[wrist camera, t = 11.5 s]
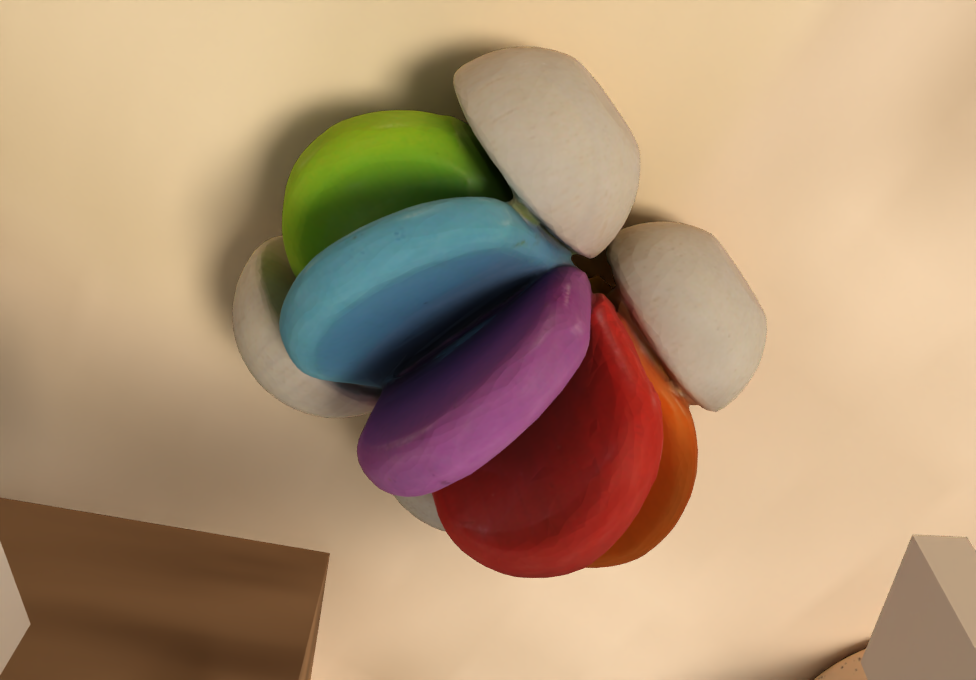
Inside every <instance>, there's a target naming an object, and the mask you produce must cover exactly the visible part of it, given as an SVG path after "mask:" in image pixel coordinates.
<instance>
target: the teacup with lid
mask: <svg viewBox="0 0 976 680" xmlns="http://www.w3.org/2000/svg"><path fill="white" fill-rule="evenodd" d="M865 650H866V649H864V650H861V651H859V652H857V653H855V654H853V655H851V656H849V657H847V658H845V659H843V660H841V661H840V662H838V663H836V664H835V665H833V666H831V667H830V668H828V669H827V670H826V671H824V672H823V673H821V674H820V675H819V676H818V677H817V678H815V679H814V680H868V679H867V677H866V674H865V672H864V669H863V667H862V664H861V660H862V657H863V655H864V652H865Z"/></svg>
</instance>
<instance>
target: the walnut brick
mask: <svg viewBox="0 0 976 680" xmlns="http://www.w3.org/2000/svg"><path fill="white" fill-rule="evenodd" d="M0 542H1V544H2V547H3V550H4V553H5V555H6V558H7V561H8V564H9V566H10V569H11V572H12V575H13V577H14V580H15V583H16V586H17V588H18V591H19V594H20V596H21V599H22V602H23V605H24V607H25V610H26V613H27V616H28V618H29V621H30V626H29V628H28V629H27V631H26V633H25V634H24V636H23V638H22V639H21V641H20V643H19V644H18V646H17V648H16V649H15V651H14V653H13V655H12V656H11V658H10V660H9V661H8V663H7V665H6V666H5V668H4V670H3V671H2V673H1V675H0V680H310V679H311V672H312V666H313V659H314V653H315V646H316V640H317V633H318V627H319V620H320V614H321V607H322V601H323V594H324V588H325V581H326V575H327V568H328V562H329V555H330V553H325V552H319V551H313V550H307V549H301V548H295V547H289V546H284V545H278V544H272V543H266V542H260V541H254V540H248V539H242V538H236V537H230V536H224V535H218V534H212V533H206V532H201V531H195V530H189V529H183V528H177V527H171V526H165V525H159V524H153V523H147V522H141V521H135V520H129V519H123V518H118V517H112V516H106V515H100V514H94V513H88V512H82V511H76V510H70V509H64V508H58V507H52V506H46V505H40V504H35V503H29V502H23V501H17V500H11V499H5V498H0Z"/></svg>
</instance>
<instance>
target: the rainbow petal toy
mask: <svg viewBox="0 0 976 680" xmlns="http://www.w3.org/2000/svg"><path fill="white" fill-rule="evenodd" d="M453 84H454V88H455V92H456V95H457V98H458V101H459V104H460V106H461V109H462V111H463V113H464V115H465V118H466V120H467V122H468V124H469V125H470V126H469V125H468V124H466V123H465V122H463V121H461V120H459V119H457V118H455V117H453V116H447V115H438V114H433V113H428V112H422V111H415V110H390V111H378V112H372V113H366V114H363V115H359V116H355V117H352V118H349V119H346V120H343V121H341V122H339V123H337V124H335V125H333V126H331V127H330V128H329V129H328V130H326V131H325V132H324V133H322V134H321V135H320V136H318V137H317V138H316V139H315V140H314V141H313V142H312V143H311V144H310V145H309V146H308V147H307V148H306V149H305V150H304V151H303V153H302V154H301V155H300V157H299V158H298V160H297V161H296V163H295V164H294V166H293V169H292V171H291V173H290V176H289V179H288V181H287V185H286V189H285V196H284V203H283V211H282V235H283V236H277V237H274V238H271V239H269V240H267V241H265V242H264V243H263V244H261V245H260V246H259V247H258V248H257V249H256V250H255V251H254V252H253V254H252V255H251V257H250V259H249V260H248V262H247V263H246V265H245V266H244V269H243V271H242V273H241V275H240V277H239V280H238V283H237V286H236V290H235V295H234V300H233V312H232V315H233V330H234V334H235V339H236V343H237V346H238V349H239V352H240V354H241V356H242V359H243V361H244V362H245V364H246V366H247V367H248V369H249V371H250V372H251V374H252V375H253V376H254V378H255V379H256V380H257V381H258V383H259V384H260V385H261V386H262V387H263V388H264V389H265V390H266V391H267V392H269V393H270V394H271V395H272V396H274V397H275V398H276V399H278V400H279V401H281V402H283V403H284V404H286V405H288V406H290V407H292V408H294V409H296V410H299V411H301V412H304V413H307V414H311V415H315V416H320V417H326V418H347V417H354V416H360V415H364V414H367V413H371V414H370V416H369V418H368V420H367V423H366V425H365V427H364V429H363V431H362V433H361V435H360V438H359V441H358V446H357V455H358V461H359V464H360V466H361V468H362V470H363V472H364V473H365V474H366V476H367V477H368V478H369V479H370V480H371V481H372V482H373V483H374V484H375V485H376V486H377V487H378V488H380V489H381V490H383V491H385V492H387V493H390V494H393V495H394V496H395V497H396V499H397V500H398V501H399V503H400V504H401V505H402V506H403V507H404V508H405V509H407V510H408V511H409V512H410V513H411V514H412V515H414V516H415V517H416V518H418V519H419V520H421V521H423V522H424V523H426V524H428V525H430V526H432V527H434V528H437V529H439V530H442V531H446V532H447V534H448V535H449V536H450V538H451V539H452V540H453V542H454V543H455V544H456V545H457V546H458V547H459V548H460V549H461V550H462V551H463V552H464V553H466V554H467V555H469V556H470V557H471V558H473V559H474V560H476V561H477V562H479V563H480V564H482V565H484V566H486V567H488V568H490V569H493V570H495V571H497V572H500V573H503V574H507V575H510V576H514V577H523V578H548V577H555V576H561V575H566V574H569V573H572V572H575V571H578V570H580V569H583V568H600V567H609V566H616V565H620V564H624V563H627V562H630V561H633V560H635V559H638V558H640V557H642V556H643V555H645V554H646V553H647V552H649V551H650V550H651V549H653V548H654V547H655V546H656V545H658V544H659V543H660V542H661V541H662V540H663V539H664V538H665V537H666V536H667V535H668V534H669V533H670V531H671V530H672V529H673V528H674V526H675V525H676V523H677V522H678V520H679V519H680V517H681V515H682V513H683V511H684V509H685V507H686V505H687V503H688V501H689V499H690V496H691V493H692V490H693V486H694V482H695V478H696V473H697V458H698V448H697V438H696V431H695V427H694V422H693V419H692V416H691V413H690V411H689V405H699V406H701V407H702V408H704V409H706V410H709V411H713V412H716V411H718V410H720V409H722V408H724V407H726V406H727V405H728V404H729V403H730V402H732V401H733V400H734V399H735V398H736V397H737V396H738V395H739V394H740V393H741V392H742V391H743V389H744V388H745V387H746V385H747V384H748V383H749V381H750V380H751V378H752V376H753V375H754V373H755V371H756V369H757V367H758V366H759V363H760V360H761V357H762V354H763V350H764V346H765V342H766V333H767V321H766V316H765V313H764V311H763V309H762V307H761V305H760V304H759V302H758V300H757V298H756V296H755V294H754V293H753V291H752V290H751V288H750V286H749V285H748V283H747V282H746V280H745V278H744V277H743V275H742V274H741V272H740V271H739V269H738V268H737V266H736V264H735V263H734V261H733V260H732V259H731V257H730V256H729V254H728V253H727V252H726V250H725V249H724V248H723V246H722V245H721V244H720V242H719V241H718V240H717V239H716V238H715V237H714V236H713V235H712V234H711V233H709V232H707V231H705V230H702V229H700V228H697V227H694V226H691V225H687V224H683V223H677V222H664V221H660V222H648V223H642V224H637V225H634V226H630V227H626V228H624V229H621V228H622V226H623V225H624V223H625V221H626V219H627V217H628V215H629V213H630V211H631V209H632V206H633V204H634V201H635V197H636V193H637V189H638V183H639V175H640V152H639V147H638V144H637V142H636V140H635V137H634V136H633V134H632V132H631V130H630V128H629V127H628V125H627V124H626V122H625V121H624V119H623V117H622V116H621V114H620V113H619V111H618V110H617V109H616V107H615V106H614V104H613V103H612V101H611V100H610V99H609V97H608V96H607V94H606V93H605V92H604V90H603V89H602V87H601V86H600V85H599V83H598V82H597V81H596V80H595V79H594V77H593V76H592V75H591V74H590V73H589V72H588V70H587V69H586V68H585V67H584V66H583V65H582V64H581V63H580V62H579V61H577V60H576V59H575V58H573V57H571V56H569V55H567V54H564V53H561V52H558V51H555V50H550V49H545V48H539V47H511V48H504V49H500V50H496V51H492V52H490V53H487V54H484V55H482V56H479V57H477V58H476V59H474V60H472V61H470V62H468V63H466V64H464V65H463V66H461V67H460V68H459V69H458V70H457V71H456V73H455V74H454V80H453ZM620 229H621V230H620ZM605 248H606V256H607V261H608V263H609V265H610V267H611V269H612V273H613V278H614V281H615V283H616V287H615V288H614V289H612V288H611V287H610V286H609V285H608V284H607V283H606V282H605V281H604V280H603V279H602V278H601V277H600V276H595V277H593V278H588V277H587V275H586V273H585V272H583V271H582V270H580V269H579V268H578V267H576V266H575V265H574V264H573V262H572V261H571V256H572V255H573V254H579V255H583V256H585V257H587V258H594V257H596V256H597V255H598V254H600V253H601V252H602V251H603V250H604V249H605Z"/></svg>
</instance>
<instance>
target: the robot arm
mask: <svg viewBox="0 0 976 680" xmlns="http://www.w3.org/2000/svg"><path fill="white" fill-rule="evenodd" d="M29 626H30V621H29V618H28V616H27V613H26V610H25V607H24V605H23V602H22V599H21V596H20V594H19V591H18V588H17V586H16V583H15V580H14V577H13V575H12V572H11V569H10V566H9V564H8V561H7V558H6V555H5V553H4V550H3V547H2V544H1V542H0V675H1V673H2V671H3V670H4V668H5V666H6V665H7V663H8V661H9V660H10V658H11V656H12V655H13V653H14V651H15V649H16V648H17V646H18V644H19V643H20V641H21V639H22V638H23V636H24V634H25V633H26V631H27V629H28V628H29ZM861 664H862V667H863V669H864V672H865V674H866V677H867V679H868V680H976V551H975V549H974V547H973V546H972V544H971V543H970V541H969V539H968V538H967V537H953V536H931V535H912V537H911V540H910V542H909V545H908V547H907V550H906V552H905V554H904V557H903V559H902V562H901V564H900V567H899V569H898V572H897V574H896V576H895V579H894V581H893V584H892V586H891V589H890V591H889V594H888V596H887V599H886V601H885V603H884V606H883V608H882V611H881V613H880V616H879V618H878V621H877V623H876V625H875V628H874V630H873V633H872V635H871V638H870V640H869V643H868V645H867V648H866V650H865V652H864V655H863V657H862V660H861Z"/></svg>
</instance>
